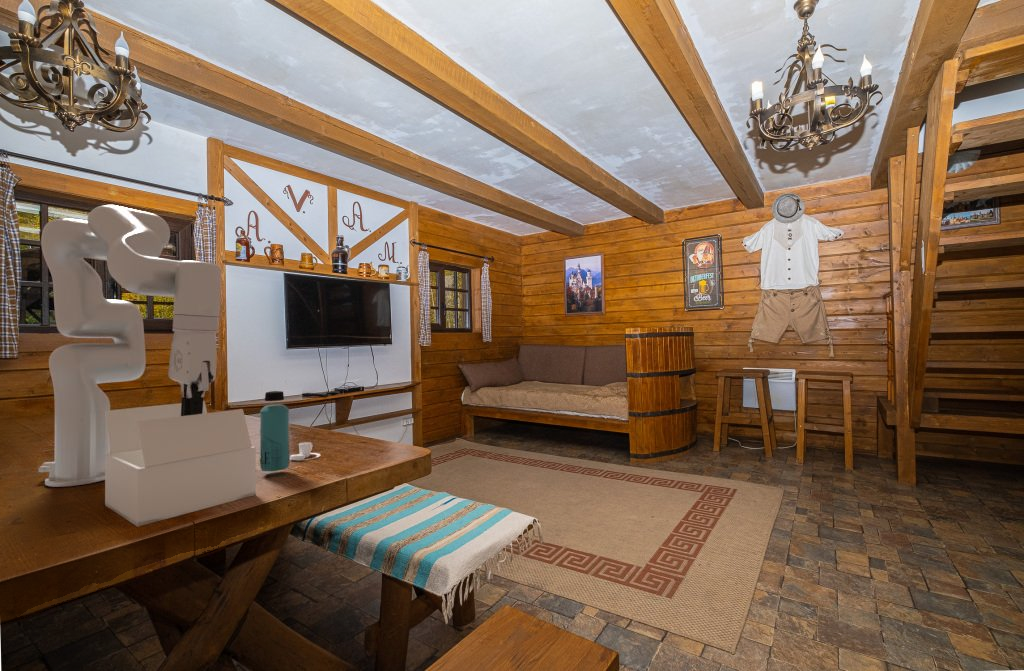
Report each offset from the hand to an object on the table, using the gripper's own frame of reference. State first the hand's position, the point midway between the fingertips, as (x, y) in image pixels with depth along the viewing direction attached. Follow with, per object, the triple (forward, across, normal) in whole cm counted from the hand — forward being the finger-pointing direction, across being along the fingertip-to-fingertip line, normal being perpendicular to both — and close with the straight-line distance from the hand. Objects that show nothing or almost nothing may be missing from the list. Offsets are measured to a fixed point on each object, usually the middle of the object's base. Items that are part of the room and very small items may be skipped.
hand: (191, 417), depth 92 cm
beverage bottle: (+18, -5, +20) cm, 27 cm away
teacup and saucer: (+19, -16, +32) cm, 40 cm away
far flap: (+4, -15, 0) cm, 15 cm away
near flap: (+3, +3, 0) cm, 4 cm away
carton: (+18, -3, 0) cm, 18 cm away
